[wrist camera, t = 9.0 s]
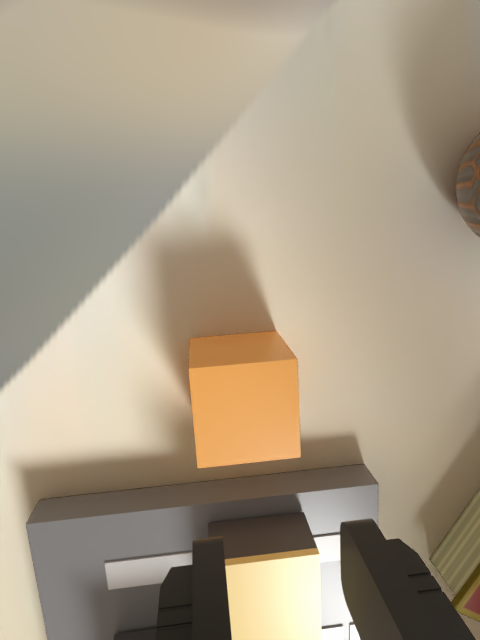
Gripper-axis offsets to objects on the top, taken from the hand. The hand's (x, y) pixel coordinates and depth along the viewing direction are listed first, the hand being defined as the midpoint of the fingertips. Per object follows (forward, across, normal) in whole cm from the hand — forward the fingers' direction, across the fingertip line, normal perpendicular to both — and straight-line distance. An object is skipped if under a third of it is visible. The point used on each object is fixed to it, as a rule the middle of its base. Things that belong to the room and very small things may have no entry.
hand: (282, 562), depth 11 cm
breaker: (+11, -1, +9) cm, 14 cm away
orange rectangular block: (+13, 0, 0) cm, 13 cm away
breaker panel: (+13, +2, +13) cm, 19 cm away
